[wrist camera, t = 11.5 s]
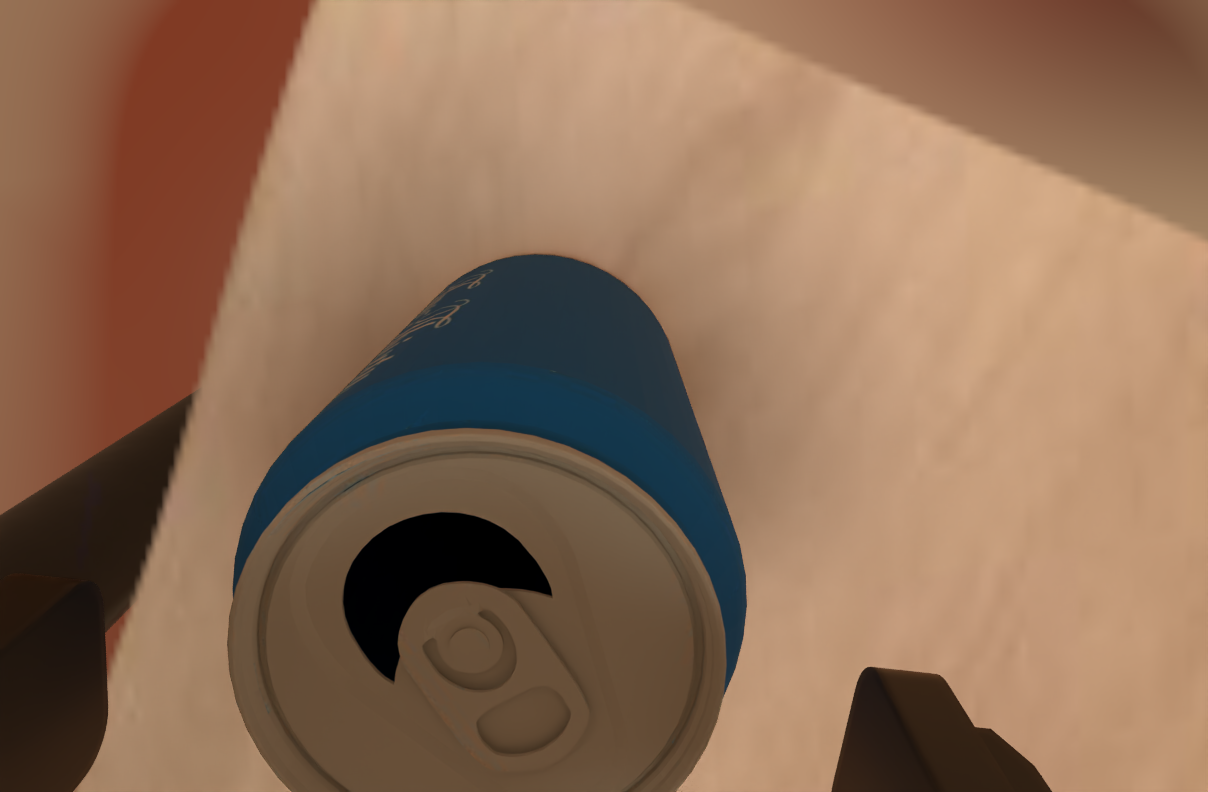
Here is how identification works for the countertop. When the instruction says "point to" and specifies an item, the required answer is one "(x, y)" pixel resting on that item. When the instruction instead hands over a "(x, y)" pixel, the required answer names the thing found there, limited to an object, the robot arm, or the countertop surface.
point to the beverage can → (494, 557)
